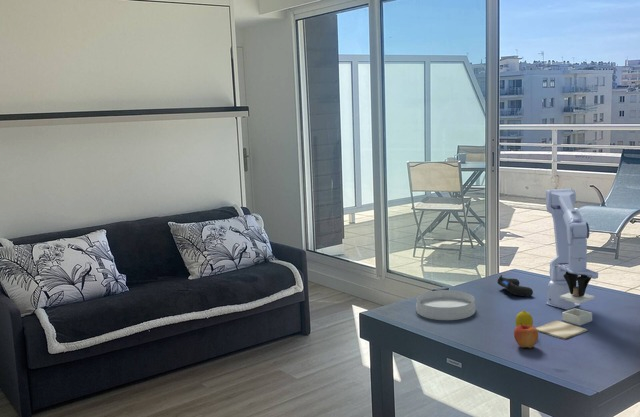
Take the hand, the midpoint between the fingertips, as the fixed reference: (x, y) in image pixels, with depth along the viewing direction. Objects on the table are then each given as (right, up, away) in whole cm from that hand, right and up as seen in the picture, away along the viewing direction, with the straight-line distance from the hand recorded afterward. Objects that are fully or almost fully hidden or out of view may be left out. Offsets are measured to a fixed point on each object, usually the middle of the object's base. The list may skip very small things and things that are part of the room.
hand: (577, 294), depth 223 cm
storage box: (+1, -9, +2) cm, 10 cm away
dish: (-42, -9, +20) cm, 47 cm away
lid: (0, -1, 0) cm, 1 cm away
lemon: (-21, -12, -8) cm, 25 cm away
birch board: (-8, -11, -7) cm, 15 cm away
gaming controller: (-11, -4, +38) cm, 39 cm away
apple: (-24, -14, -19) cm, 34 cm away
